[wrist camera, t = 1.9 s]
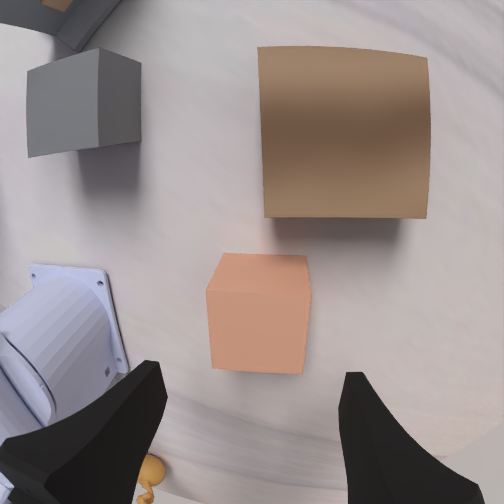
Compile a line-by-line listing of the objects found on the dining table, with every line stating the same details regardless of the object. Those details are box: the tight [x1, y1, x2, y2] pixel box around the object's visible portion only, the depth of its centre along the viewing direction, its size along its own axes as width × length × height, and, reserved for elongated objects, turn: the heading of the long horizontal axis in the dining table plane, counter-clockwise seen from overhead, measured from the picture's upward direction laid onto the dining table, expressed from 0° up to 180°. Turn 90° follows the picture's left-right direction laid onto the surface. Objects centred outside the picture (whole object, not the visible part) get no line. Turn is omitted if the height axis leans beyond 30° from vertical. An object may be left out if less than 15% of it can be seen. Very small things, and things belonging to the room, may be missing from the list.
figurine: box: [137, 454, 166, 504], centre depth 24 cm, size 8×6×12 cm
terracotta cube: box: [206, 253, 311, 374], centre depth 18 cm, size 5×5×5 cm
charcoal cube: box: [26, 48, 141, 158], centre depth 15 cm, size 5×5×5 cm
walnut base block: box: [258, 46, 431, 219], centre depth 15 cm, size 8×8×4 cm
